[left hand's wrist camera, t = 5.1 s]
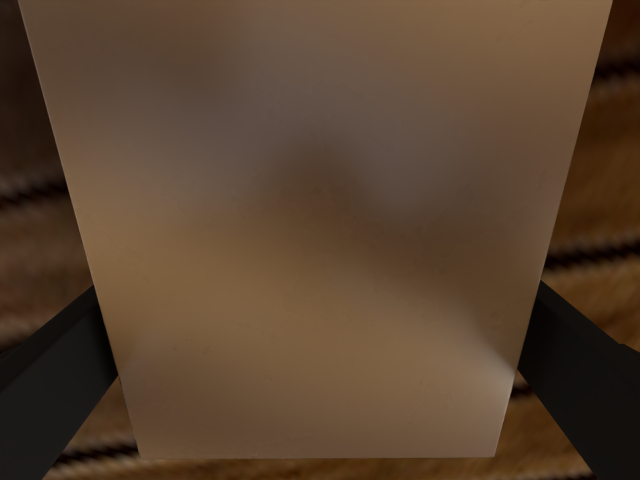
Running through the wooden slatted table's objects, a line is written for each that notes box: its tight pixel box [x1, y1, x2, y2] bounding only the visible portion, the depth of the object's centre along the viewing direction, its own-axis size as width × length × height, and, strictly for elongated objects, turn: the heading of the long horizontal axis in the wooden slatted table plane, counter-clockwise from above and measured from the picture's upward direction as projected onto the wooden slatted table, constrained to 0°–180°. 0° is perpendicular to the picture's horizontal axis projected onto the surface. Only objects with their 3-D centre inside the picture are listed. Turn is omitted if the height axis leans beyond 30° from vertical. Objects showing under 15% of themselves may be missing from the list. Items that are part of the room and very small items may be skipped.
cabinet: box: [18, 0, 613, 459], centre depth 11 cm, size 20×11×9 cm, turn 0°
